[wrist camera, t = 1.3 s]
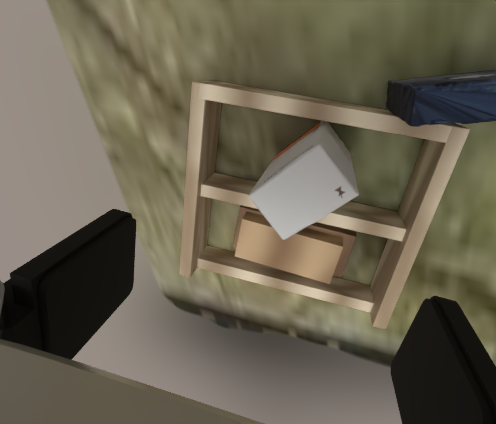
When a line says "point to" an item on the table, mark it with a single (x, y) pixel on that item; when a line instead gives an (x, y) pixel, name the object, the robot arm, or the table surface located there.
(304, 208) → the skincare box
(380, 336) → the table surface
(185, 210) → the offcut rack
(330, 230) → the block
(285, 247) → the upper offcut
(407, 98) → the vhs cassette tape
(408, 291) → the table surface
